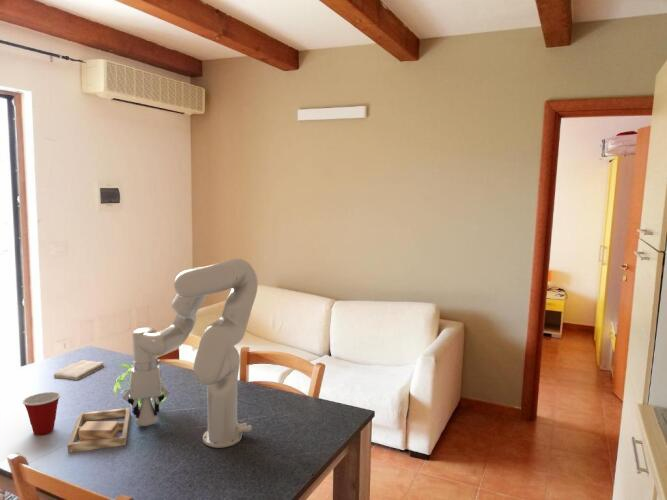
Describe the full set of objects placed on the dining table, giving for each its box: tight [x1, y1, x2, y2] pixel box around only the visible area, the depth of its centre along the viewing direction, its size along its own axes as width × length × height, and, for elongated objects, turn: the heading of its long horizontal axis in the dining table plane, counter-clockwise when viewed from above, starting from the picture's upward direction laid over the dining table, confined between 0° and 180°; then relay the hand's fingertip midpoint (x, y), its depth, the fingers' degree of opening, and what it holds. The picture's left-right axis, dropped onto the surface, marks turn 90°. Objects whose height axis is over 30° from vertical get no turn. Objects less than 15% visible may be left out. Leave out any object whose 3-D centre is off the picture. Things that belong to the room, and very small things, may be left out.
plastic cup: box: [22, 391, 61, 436], centre depth 164 cm, size 11×11×12 cm
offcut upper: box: [78, 420, 120, 440], centre depth 158 cm, size 10×6×3 cm, turn 94°
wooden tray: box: [67, 407, 131, 453], centre depth 165 cm, size 16×22×2 cm
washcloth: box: [53, 359, 105, 381], centre depth 215 cm, size 12×18×3 cm, turn 168°
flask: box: [134, 397, 160, 427], centre depth 169 cm, size 7×7×10 cm
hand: (146, 414), depth 170 cm, fingers open, 5 cm apart
